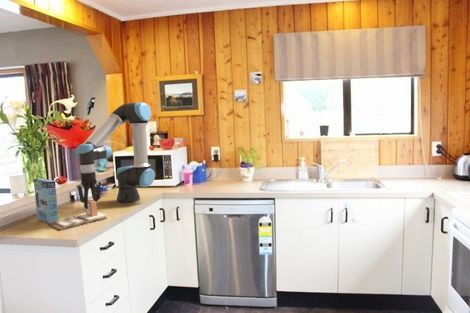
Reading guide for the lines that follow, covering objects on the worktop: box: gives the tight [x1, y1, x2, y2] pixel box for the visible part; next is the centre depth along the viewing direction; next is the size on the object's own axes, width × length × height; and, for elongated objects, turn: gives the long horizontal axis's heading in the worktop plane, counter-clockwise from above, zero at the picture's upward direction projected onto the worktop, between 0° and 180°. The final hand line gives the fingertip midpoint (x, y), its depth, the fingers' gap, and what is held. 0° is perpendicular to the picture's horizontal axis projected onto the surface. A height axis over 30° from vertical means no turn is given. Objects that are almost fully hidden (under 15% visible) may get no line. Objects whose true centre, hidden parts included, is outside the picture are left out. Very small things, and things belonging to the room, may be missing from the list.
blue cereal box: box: [33, 177, 59, 224], centre depth 205 cm, size 19×5×23 cm, turn 47°
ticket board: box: [47, 215, 108, 232], centre depth 198 cm, size 25×16×2 cm, turn 137°
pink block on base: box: [77, 199, 107, 221], centre depth 204 cm, size 10×14×9 cm
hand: (91, 213), depth 204 cm, fingers closed on pink block on base, 3 cm apart
